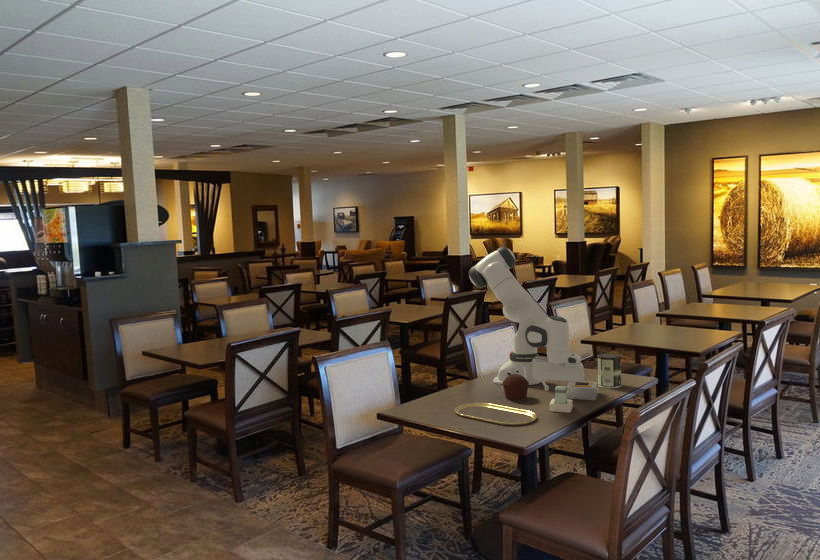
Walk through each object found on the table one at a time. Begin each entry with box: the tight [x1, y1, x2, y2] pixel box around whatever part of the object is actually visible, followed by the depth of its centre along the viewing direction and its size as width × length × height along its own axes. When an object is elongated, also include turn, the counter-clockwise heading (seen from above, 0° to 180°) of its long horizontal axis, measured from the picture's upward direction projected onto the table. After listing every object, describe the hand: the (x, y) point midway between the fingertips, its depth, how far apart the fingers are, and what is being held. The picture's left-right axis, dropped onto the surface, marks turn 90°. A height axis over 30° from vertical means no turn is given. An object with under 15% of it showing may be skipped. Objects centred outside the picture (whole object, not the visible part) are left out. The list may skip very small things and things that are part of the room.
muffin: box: [501, 374, 529, 402], centre depth 277 cm, size 12×11×10 cm
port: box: [566, 380, 599, 401], centre depth 276 cm, size 12×12×5 cm
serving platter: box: [454, 402, 538, 427], centre depth 254 cm, size 19×35×2 cm, turn 48°
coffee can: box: [597, 352, 622, 389], centre depth 291 cm, size 10×10×14 cm
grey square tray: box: [549, 398, 573, 414], centre depth 258 cm, size 8×8×3 cm
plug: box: [554, 385, 568, 404], centre depth 258 cm, size 4×4×9 cm
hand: (558, 391), depth 257 cm, fingers open, 8 cm apart
